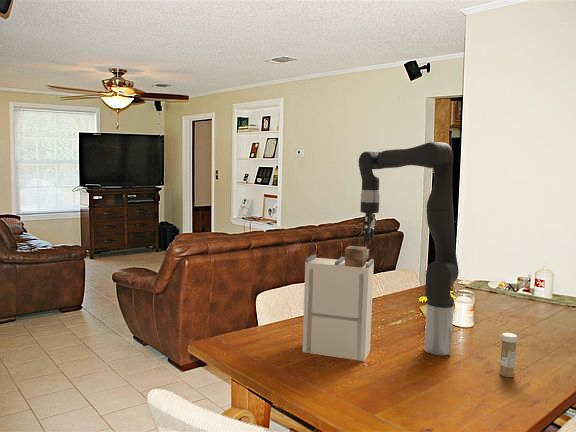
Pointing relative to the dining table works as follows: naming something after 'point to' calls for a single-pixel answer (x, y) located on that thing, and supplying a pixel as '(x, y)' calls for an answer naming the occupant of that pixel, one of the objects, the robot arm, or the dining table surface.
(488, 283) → the dining table surface
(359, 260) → the walnut bar
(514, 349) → the sprinkles bottle
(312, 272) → the off-white tall box
